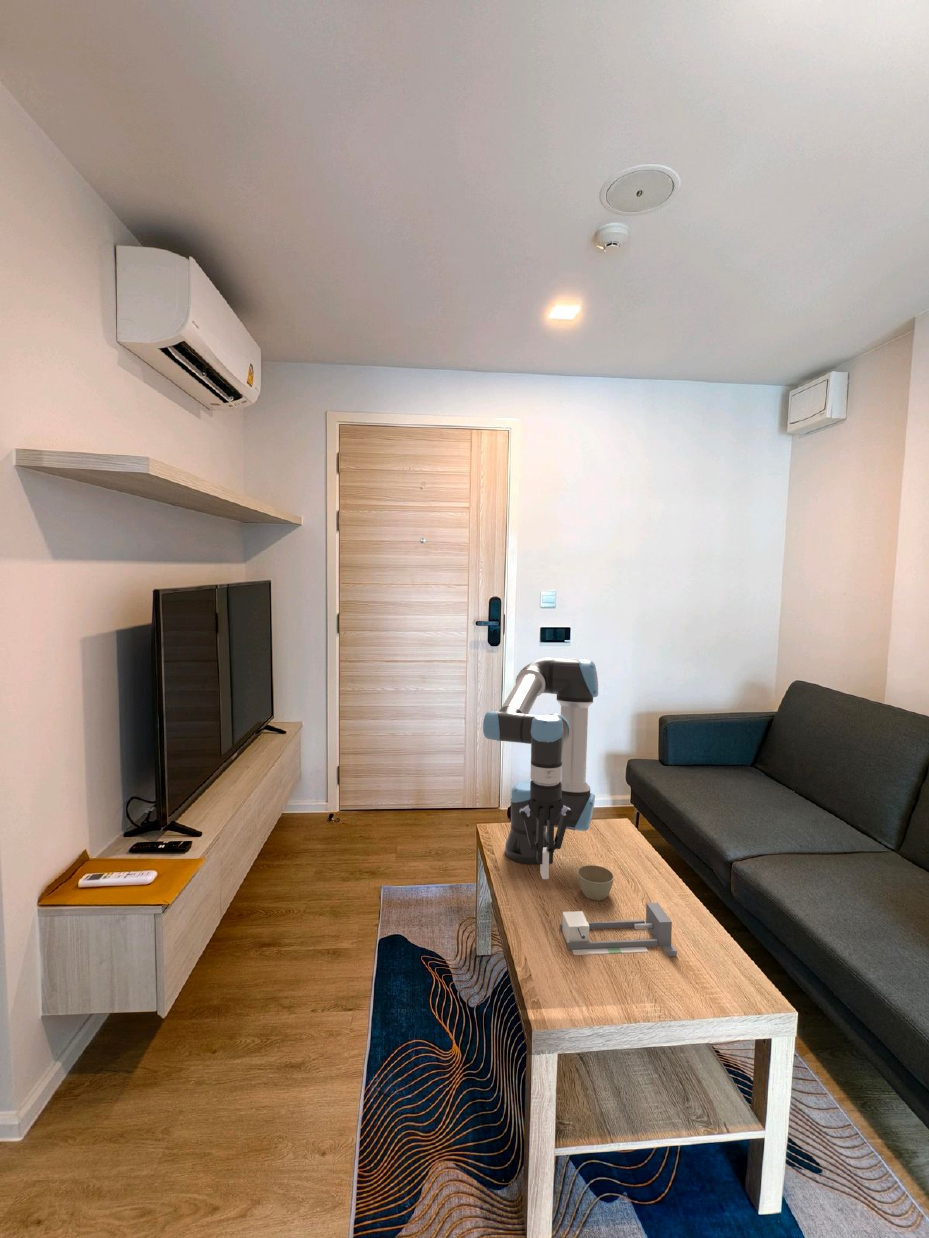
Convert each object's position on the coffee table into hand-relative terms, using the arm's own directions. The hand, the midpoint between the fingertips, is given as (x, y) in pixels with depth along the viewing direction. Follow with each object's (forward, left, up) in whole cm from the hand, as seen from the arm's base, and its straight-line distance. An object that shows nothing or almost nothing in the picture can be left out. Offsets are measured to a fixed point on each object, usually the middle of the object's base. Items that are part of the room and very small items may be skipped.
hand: (544, 875), depth 133 cm
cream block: (+2, +8, -16) cm, 18 cm away
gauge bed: (0, +17, -18) cm, 24 cm away
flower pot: (-19, +19, -18) cm, 32 cm away
